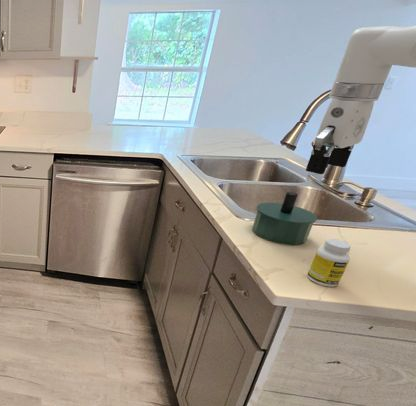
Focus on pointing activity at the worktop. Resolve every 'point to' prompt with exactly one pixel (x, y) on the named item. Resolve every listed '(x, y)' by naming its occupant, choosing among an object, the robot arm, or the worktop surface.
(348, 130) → the robot arm
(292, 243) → the pot
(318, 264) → the supplement bottle
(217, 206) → the worktop surface
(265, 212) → the lid
